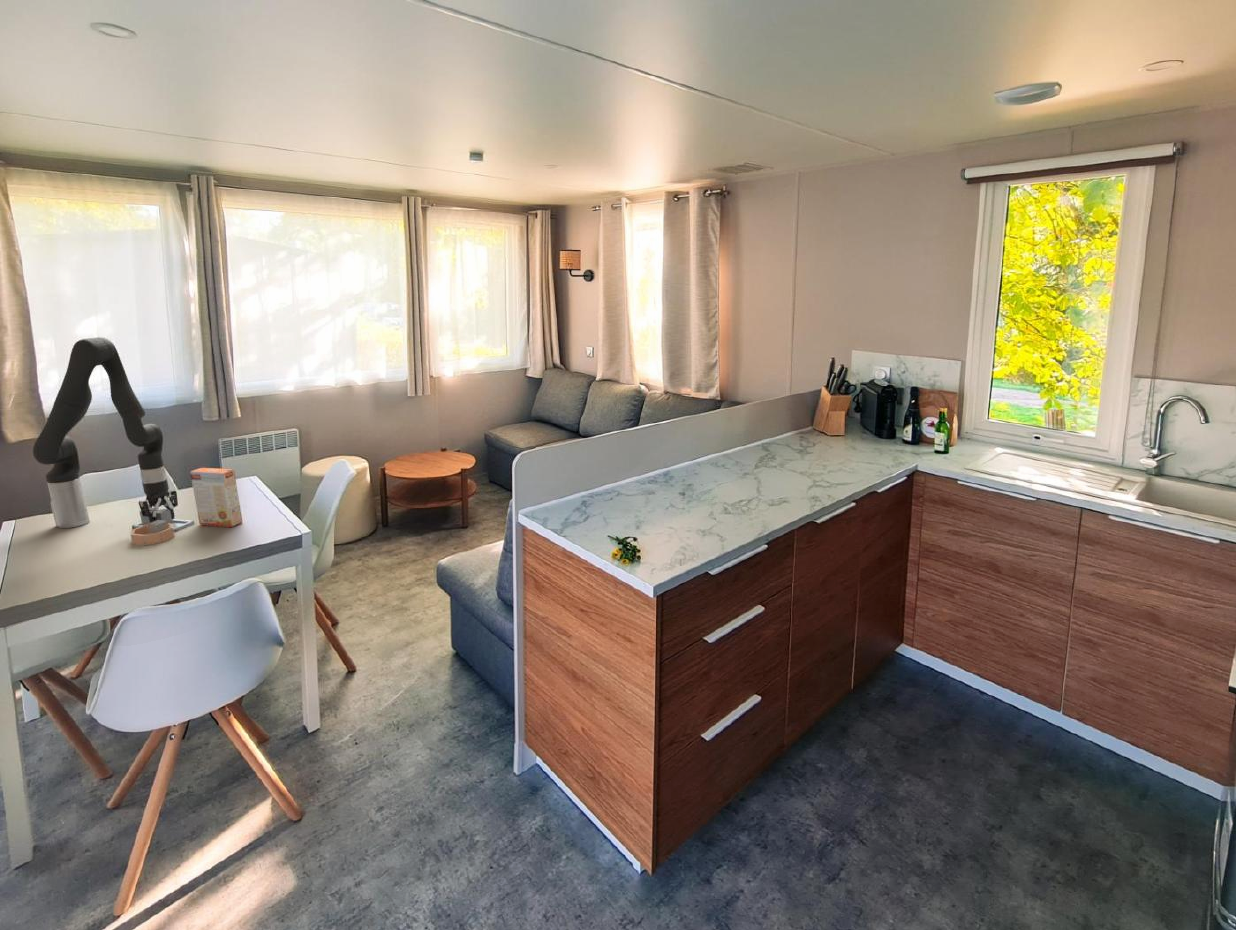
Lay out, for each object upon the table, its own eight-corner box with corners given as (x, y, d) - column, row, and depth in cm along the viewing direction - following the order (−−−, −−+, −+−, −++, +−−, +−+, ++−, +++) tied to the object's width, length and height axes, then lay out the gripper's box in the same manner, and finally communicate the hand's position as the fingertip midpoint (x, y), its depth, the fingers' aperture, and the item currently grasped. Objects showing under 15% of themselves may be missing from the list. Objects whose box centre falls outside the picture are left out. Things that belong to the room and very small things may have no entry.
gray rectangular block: (154, 526, 240) (151, 512, 238) (163, 522, 243) (160, 508, 242) (163, 527, 239) (160, 513, 237) (172, 523, 243) (169, 509, 241)
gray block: (142, 525, 241) (139, 511, 239) (151, 521, 244) (149, 507, 243) (151, 526, 240) (148, 512, 238) (160, 522, 244) (158, 508, 242)
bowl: (124, 543, 225) (122, 533, 224) (154, 530, 237) (152, 521, 236) (153, 546, 223) (151, 536, 222) (182, 533, 234) (180, 524, 233)
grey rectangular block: (150, 538, 228) (147, 523, 226) (160, 534, 231) (157, 519, 230) (160, 539, 227) (157, 524, 225) (170, 535, 231) (167, 520, 229)
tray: (132, 528, 239) (131, 525, 238) (153, 519, 247) (153, 517, 247) (173, 532, 235) (173, 529, 235) (194, 523, 244) (193, 520, 243)
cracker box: (243, 522, 245) (235, 468, 239) (231, 528, 239) (222, 473, 234) (211, 519, 248) (202, 466, 242) (198, 525, 242) (189, 471, 236)
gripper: (162, 473, 244) (171, 515, 248) (127, 484, 230) (137, 528, 235) (179, 474, 242) (187, 516, 247) (145, 485, 229) (154, 530, 233)
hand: (163, 522), depth 241 cm, fingers open, 6 cm apart
